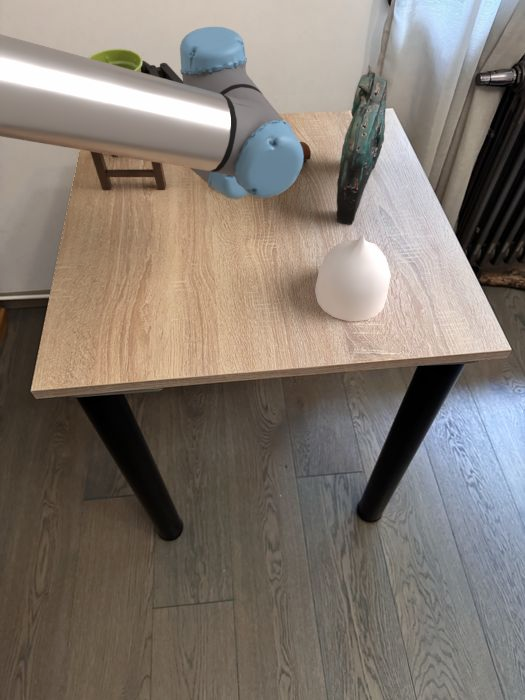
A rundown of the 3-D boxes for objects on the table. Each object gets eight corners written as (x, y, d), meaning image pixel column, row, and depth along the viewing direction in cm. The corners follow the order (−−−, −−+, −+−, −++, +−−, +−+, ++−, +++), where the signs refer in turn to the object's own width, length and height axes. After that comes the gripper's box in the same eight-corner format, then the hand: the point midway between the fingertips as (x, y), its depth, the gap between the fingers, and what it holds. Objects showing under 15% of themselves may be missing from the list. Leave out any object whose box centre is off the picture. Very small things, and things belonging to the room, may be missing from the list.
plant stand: (100, 191, 93) (84, 138, 84) (111, 151, 99) (97, 99, 91) (166, 190, 93) (156, 138, 84) (172, 151, 99) (164, 98, 91)
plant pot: (89, 128, 85) (73, 75, 78) (107, 98, 90) (94, 46, 83) (143, 133, 84) (131, 80, 77) (159, 102, 89) (149, 50, 82)
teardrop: (311, 317, 76) (318, 260, 66) (317, 264, 82) (324, 204, 72) (386, 325, 75) (405, 268, 65) (386, 271, 81) (403, 211, 71)
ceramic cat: (346, 156, 98) (363, 46, 82) (380, 161, 97) (403, 51, 81) (326, 223, 87) (340, 112, 71) (363, 230, 86) (386, 119, 70)
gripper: (124, 179, 73) (51, 113, 83) (238, 125, 81) (159, 70, 91) (111, 131, 67) (34, 66, 77) (235, 77, 75) (151, 24, 85)
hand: (101, 68), depth 84 cm, fingers closed on plant pot, 8 cm apart
